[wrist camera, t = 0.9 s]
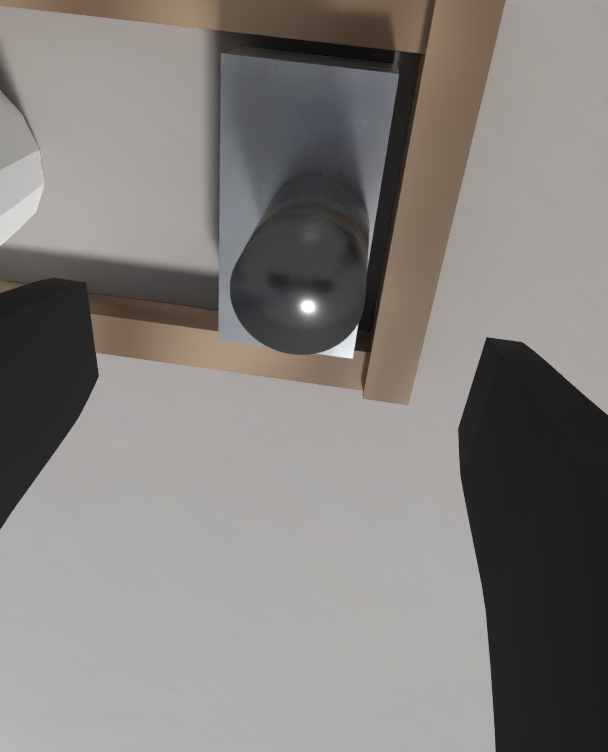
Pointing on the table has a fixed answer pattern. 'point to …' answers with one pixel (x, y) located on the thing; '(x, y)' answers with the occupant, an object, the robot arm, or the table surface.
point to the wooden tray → (412, 200)
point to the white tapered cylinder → (17, 170)
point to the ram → (299, 195)
